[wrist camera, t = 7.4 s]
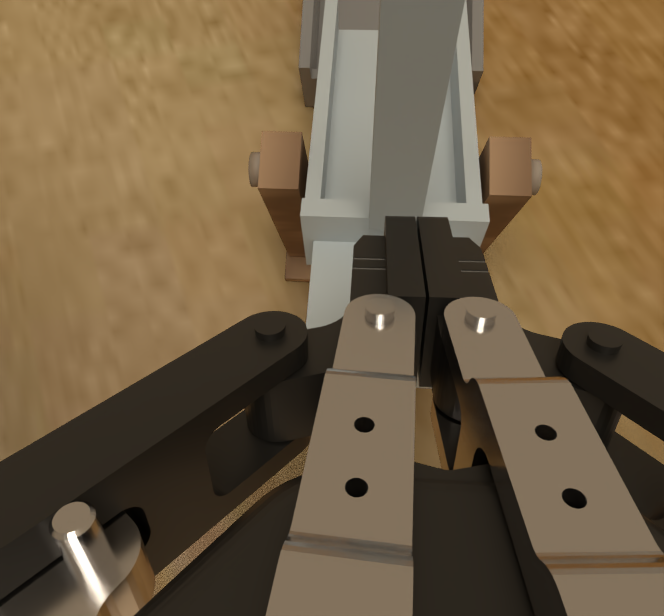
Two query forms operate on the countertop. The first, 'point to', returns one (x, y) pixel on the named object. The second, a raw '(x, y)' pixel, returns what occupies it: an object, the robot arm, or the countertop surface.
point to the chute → (388, 139)
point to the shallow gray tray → (363, 14)
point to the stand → (291, 177)
